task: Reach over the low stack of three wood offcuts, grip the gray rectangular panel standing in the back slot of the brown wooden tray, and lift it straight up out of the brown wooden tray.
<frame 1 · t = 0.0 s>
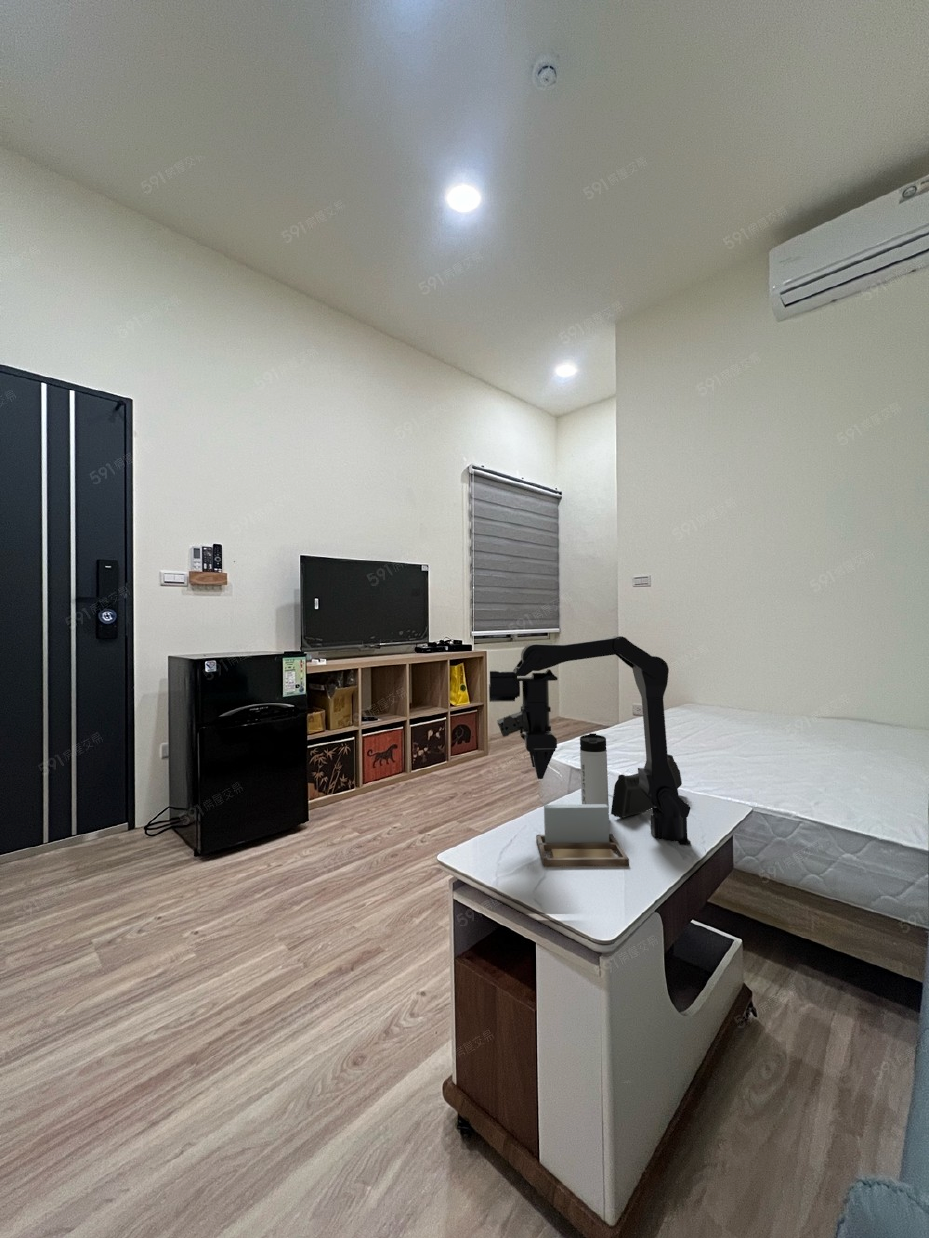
hand: (537, 772, 111), 15 cm above the table, tool pointing down, fingers open, 9 cm apart
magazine: (649, 806, 131), on the table
offcut top: (583, 857, 101), point 1 cm above the table, touching offcut middle
offcut middle: (581, 861, 101), on the table, touching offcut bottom, offcut top
travel mug: (595, 820, 122), on the table
brown wooden tray: (580, 856, 103), on the table
gray rectangular panel: (576, 849, 106), on the table
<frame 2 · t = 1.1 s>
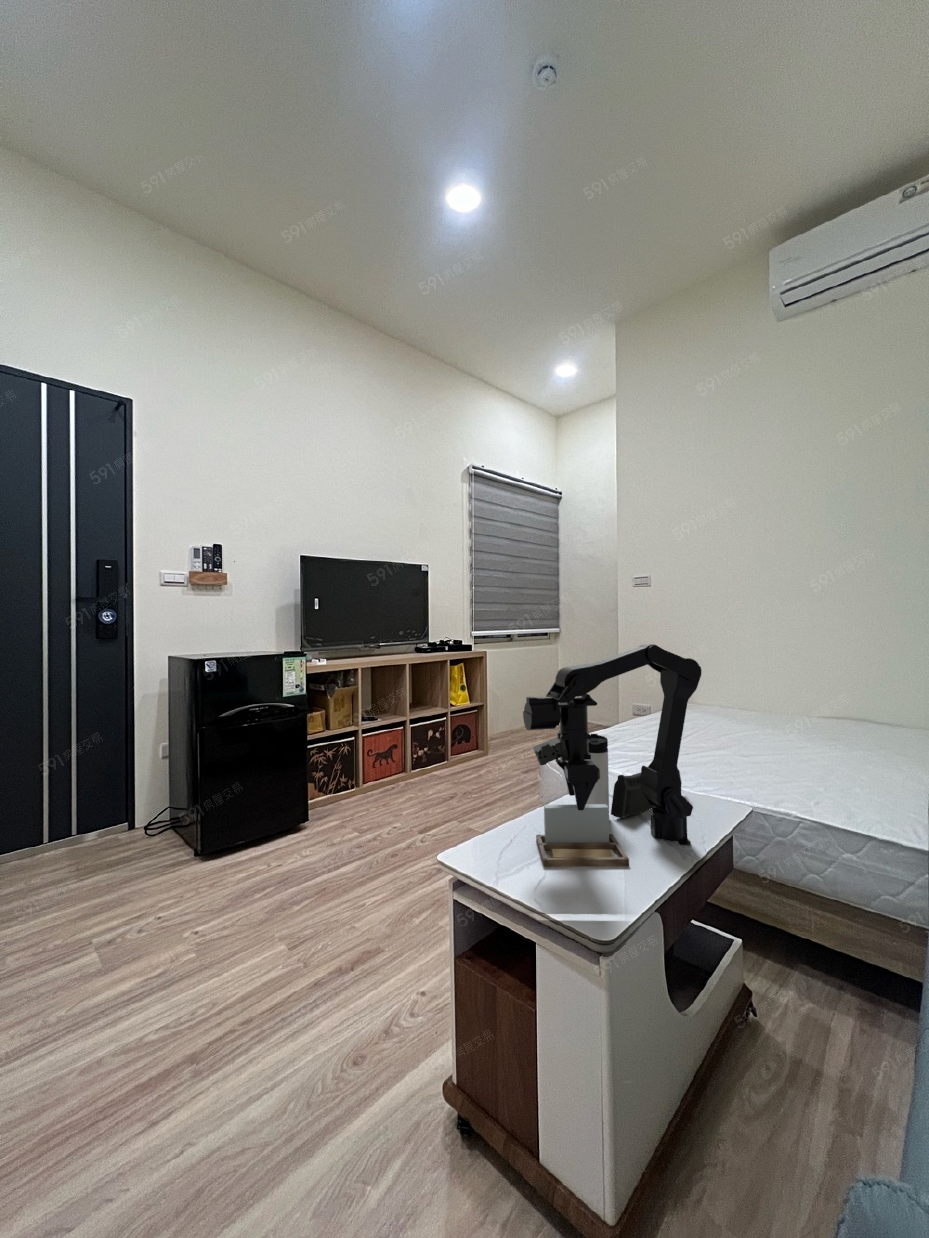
hand: (576, 802, 107), 10 cm above the table, tool pointing down, fingers open, 9 cm apart
offcut top: (583, 857, 101), point 1 cm above the table
offcut middle: (581, 861, 101), on the table, touching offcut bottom
everything else where it was.
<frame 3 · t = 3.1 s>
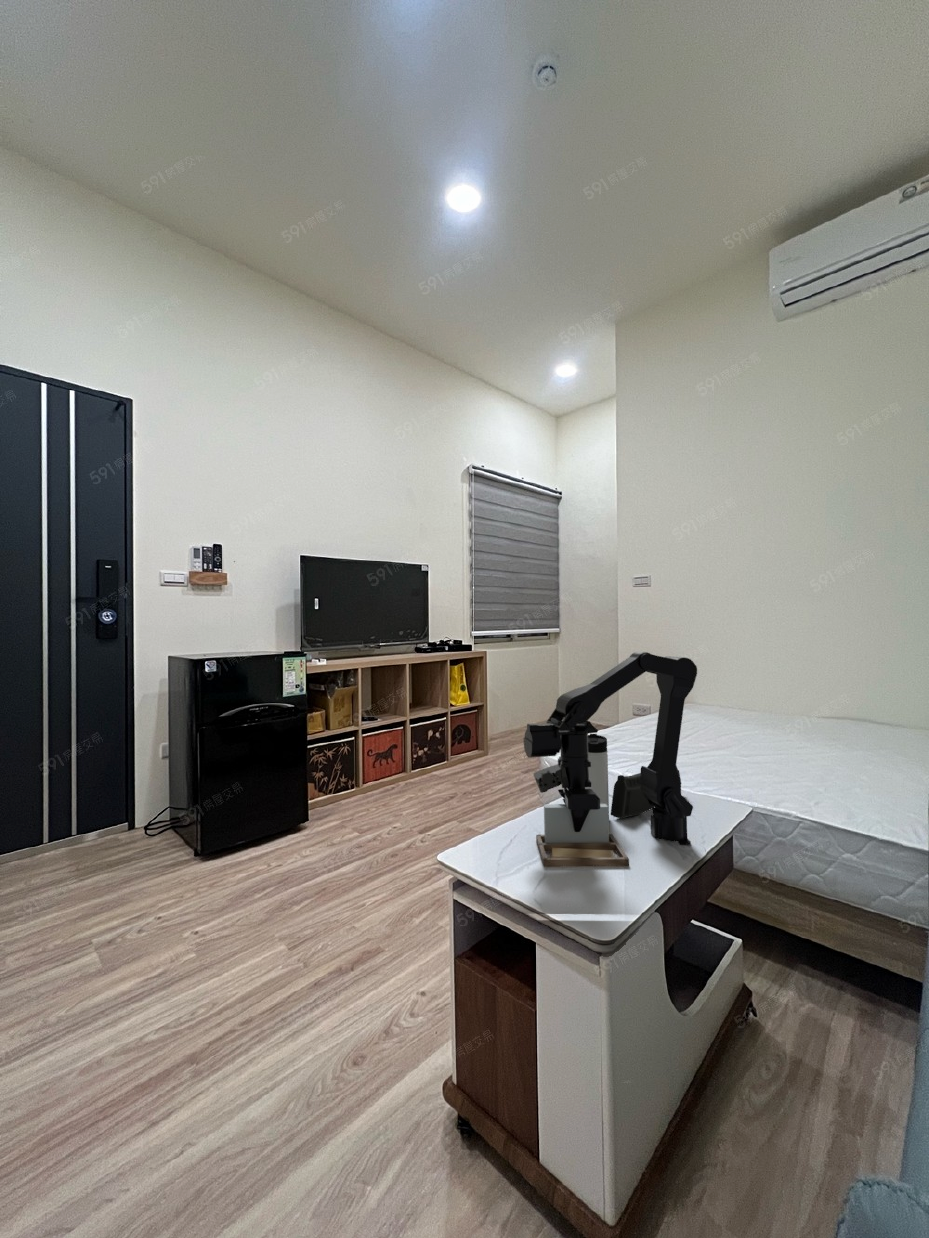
hand: (576, 829, 106), 4 cm above the table, tool pointing down, fingers closed on gray rectangular panel, 2 cm apart
offcut top: (582, 857, 101), point 1 cm above the table, touching offcut middle
offcut middle: (581, 861, 101), on the table, touching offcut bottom, offcut top
gray rectangular panel: (576, 849, 106), on the table, touching gripper
everything else where it was.
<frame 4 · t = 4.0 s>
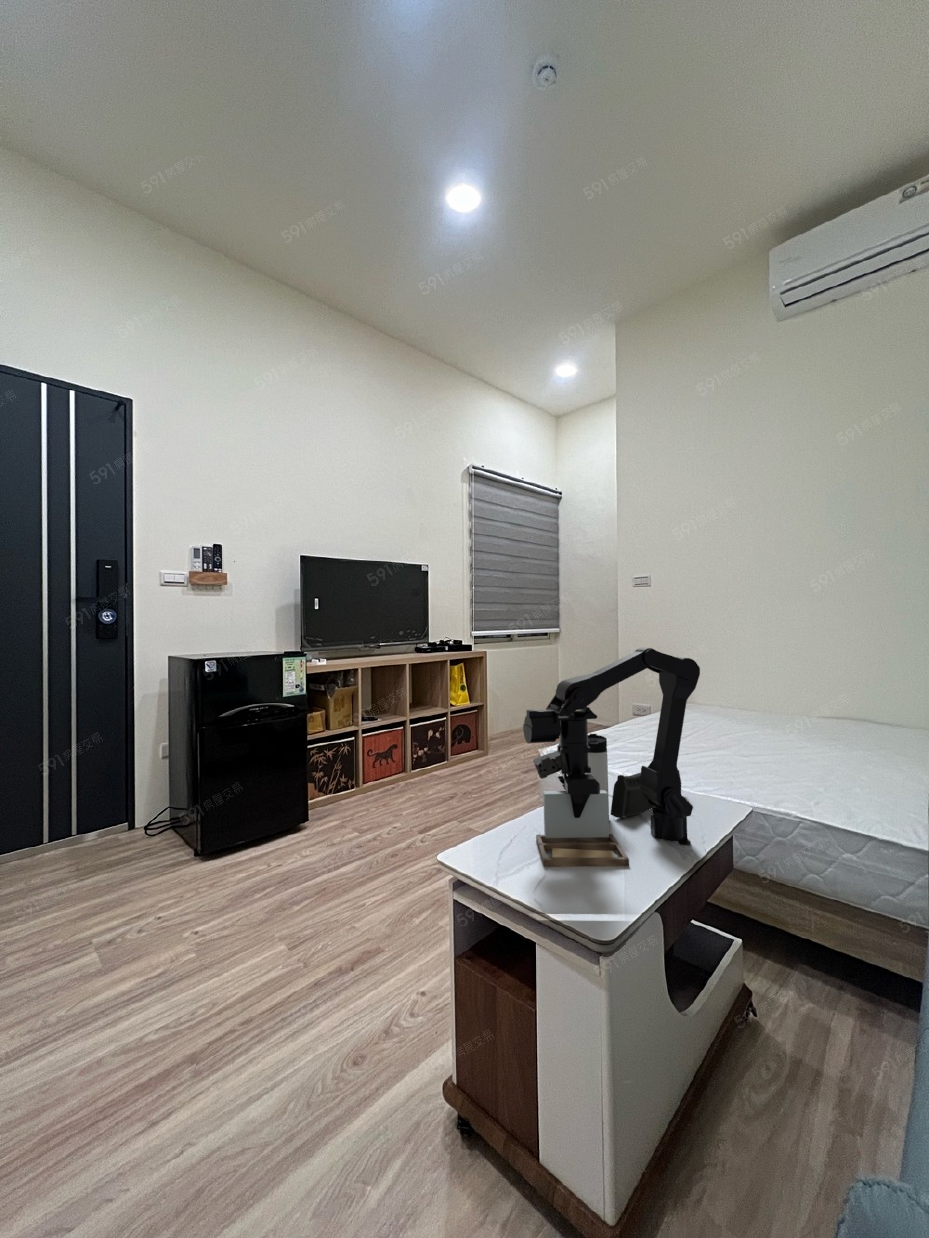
hand: (575, 815, 107), 7 cm above the table, tool pointing down, fingers closed on gray rectangular panel
gray rectangular panel: (576, 835, 106), point 3 cm above the table, touching gripper
everything else where it was.
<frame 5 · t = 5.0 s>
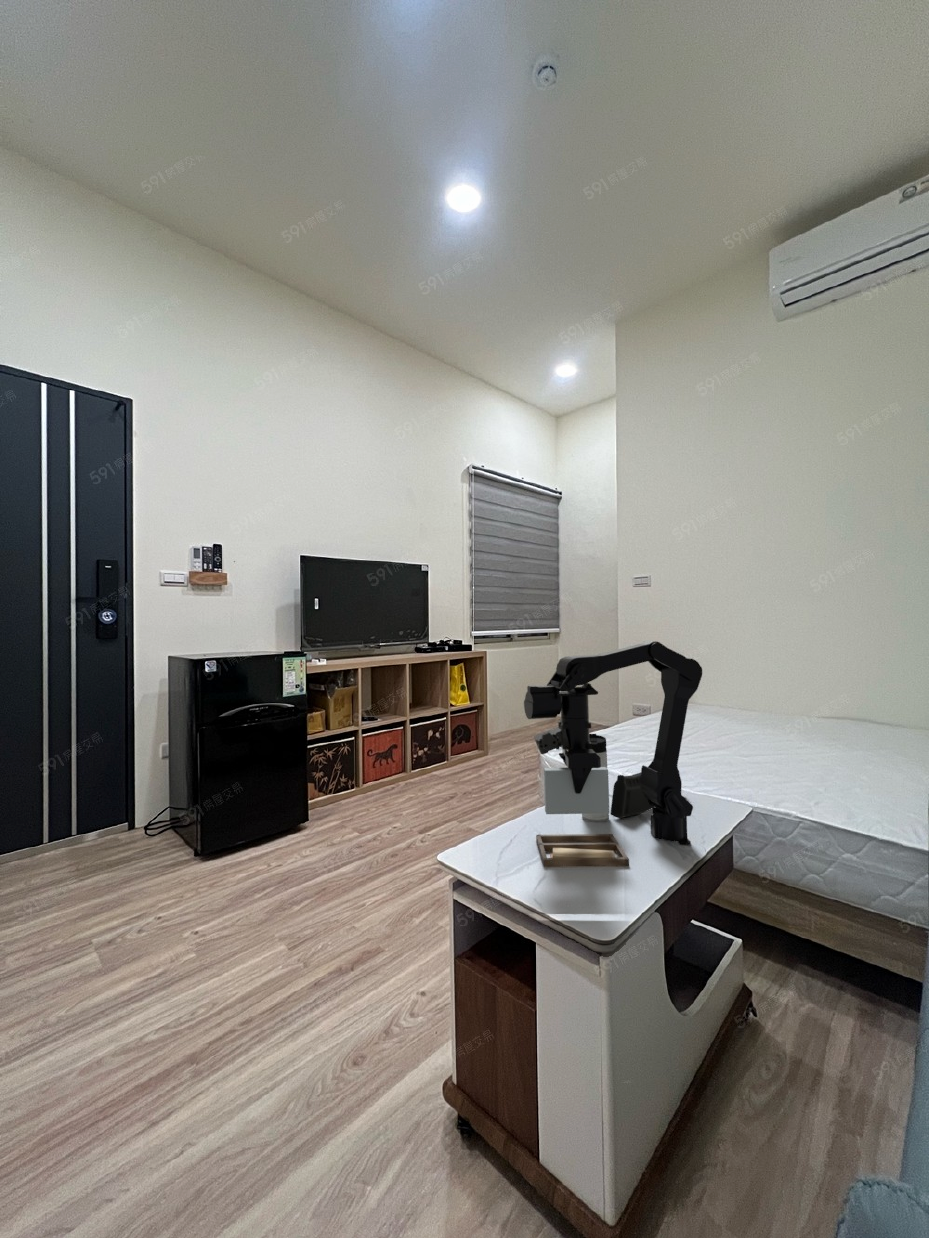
hand: (576, 791, 107), 12 cm above the table, tool pointing down, fingers closed on gray rectangular panel
gray rectangular panel: (576, 812, 106), point 8 cm above the table, touching gripper
everything else where it was.
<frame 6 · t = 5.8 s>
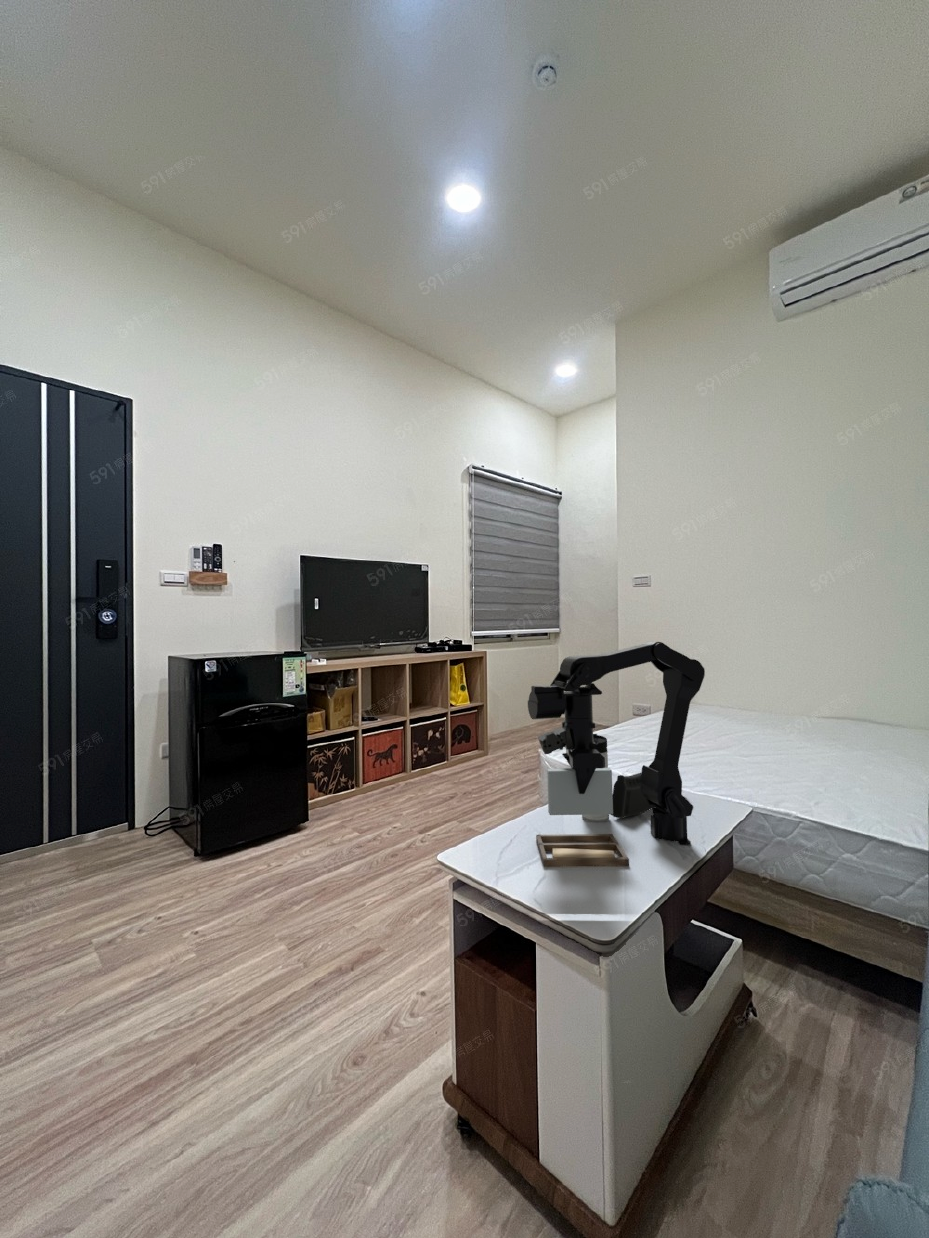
hand: (580, 791, 106), 12 cm above the table, tool pointing down, fingers closed on gray rectangular panel
gray rectangular panel: (580, 812, 106), point 8 cm above the table, touching gripper
everything else where it was.
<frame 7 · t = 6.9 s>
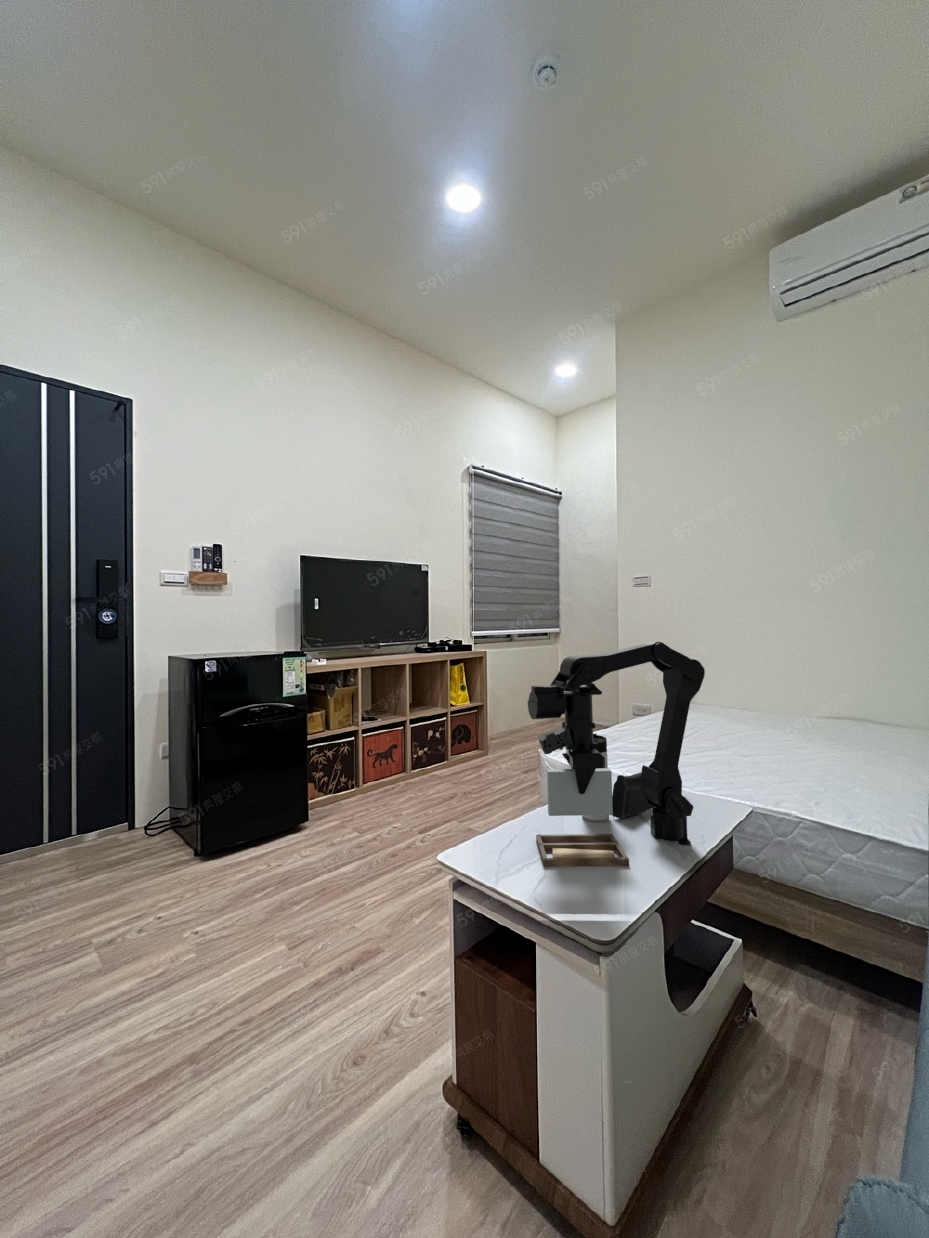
hand: (580, 791, 106), 12 cm above the table, tool pointing down, fingers closed on gray rectangular panel
gray rectangular panel: (580, 813, 106), point 7 cm above the table, touching gripper
everything else where it was.
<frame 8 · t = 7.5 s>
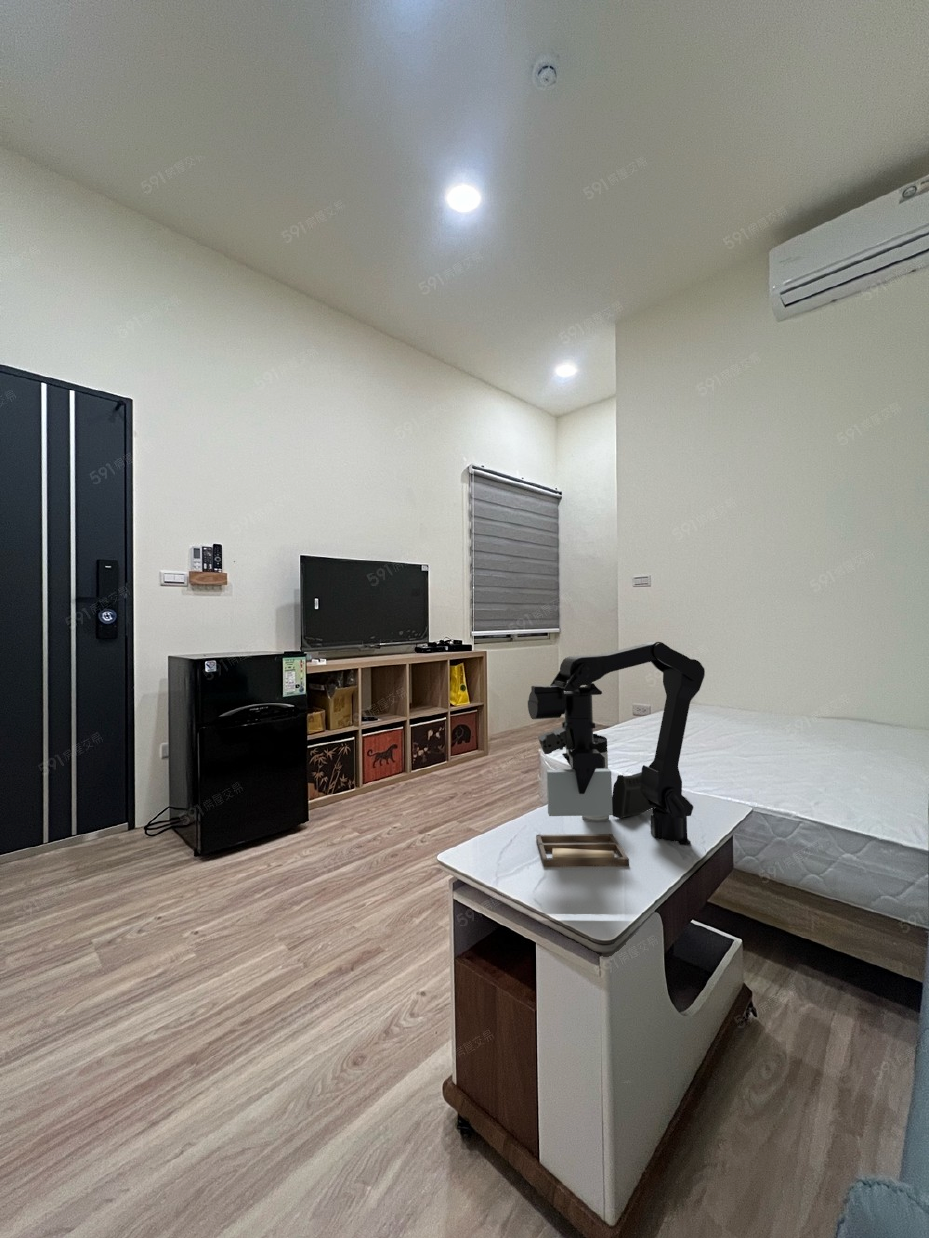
hand: (580, 791, 106), 12 cm above the table, tool pointing down, fingers closed on gray rectangular panel
gray rectangular panel: (579, 813, 106), point 7 cm above the table, touching gripper
everything else where it was.
at the end: the gripper is holding gray rectangular panel; gray rectangular panel point 7.4 cm above the table; offcut top moved 1.2 cm from its start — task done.
